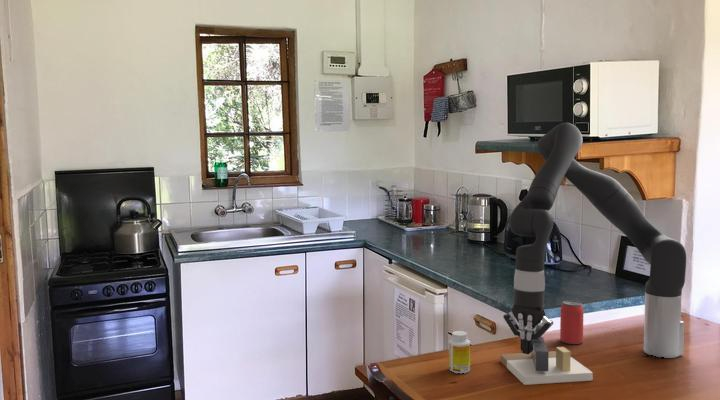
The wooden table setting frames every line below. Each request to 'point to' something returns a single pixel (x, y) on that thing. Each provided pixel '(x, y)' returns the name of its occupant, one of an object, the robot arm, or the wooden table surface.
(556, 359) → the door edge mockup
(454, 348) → the supplement bottle
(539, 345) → the block
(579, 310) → the beer can
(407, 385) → the wooden table surface
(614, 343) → the wooden table surface
